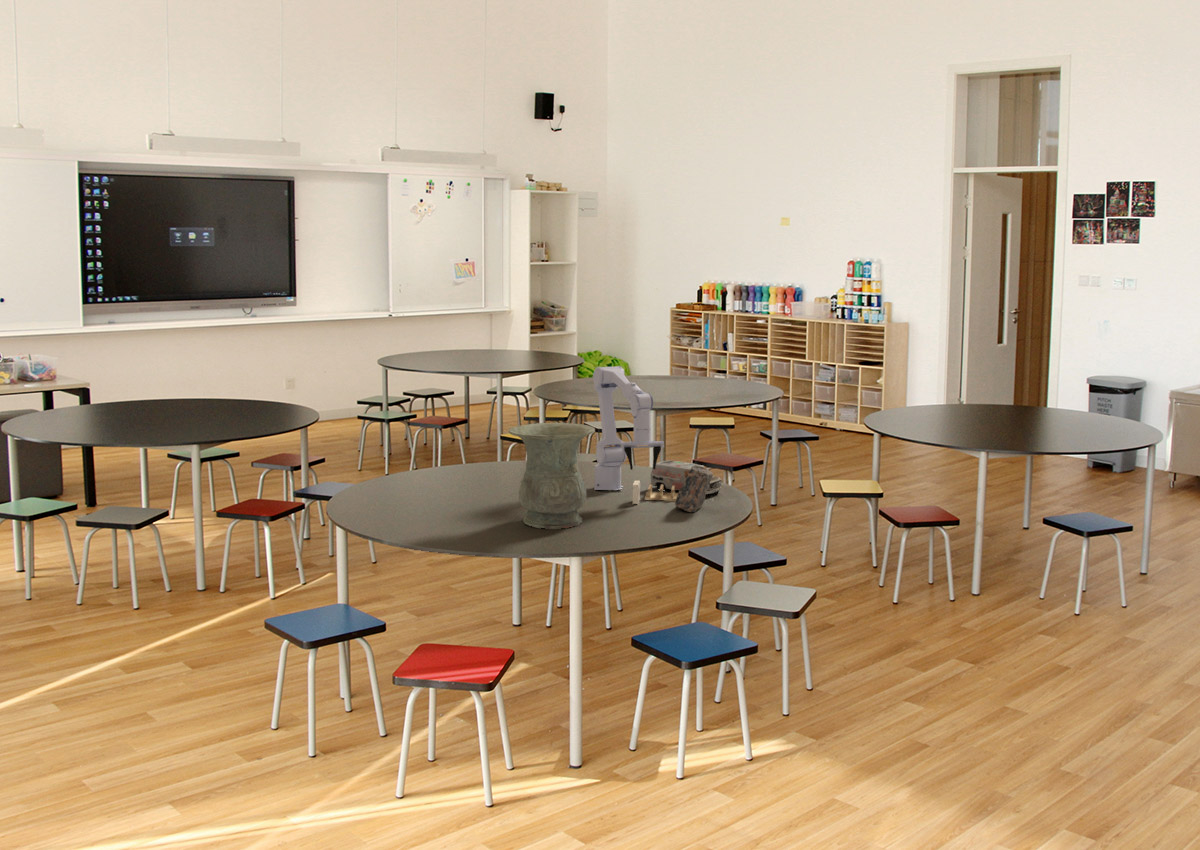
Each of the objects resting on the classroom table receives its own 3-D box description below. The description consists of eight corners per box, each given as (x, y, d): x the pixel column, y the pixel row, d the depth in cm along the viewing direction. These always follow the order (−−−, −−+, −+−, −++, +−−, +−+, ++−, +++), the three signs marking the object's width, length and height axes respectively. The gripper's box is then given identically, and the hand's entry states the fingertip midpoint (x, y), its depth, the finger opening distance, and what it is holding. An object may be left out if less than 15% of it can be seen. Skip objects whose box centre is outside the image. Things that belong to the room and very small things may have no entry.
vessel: (548, 508, 373) (548, 419, 368) (611, 520, 356) (611, 427, 352) (491, 523, 352) (490, 429, 348) (554, 537, 336) (554, 438, 331)
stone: (679, 515, 365) (680, 469, 362) (666, 505, 377) (666, 462, 375) (717, 512, 368) (718, 467, 366) (702, 503, 381) (703, 460, 378)
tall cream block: (632, 505, 379) (632, 484, 377) (634, 500, 385) (634, 480, 384) (638, 505, 378) (638, 484, 377) (639, 500, 385) (640, 480, 384)
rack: (644, 500, 385) (644, 489, 384) (646, 494, 394) (646, 483, 393) (676, 501, 384) (676, 490, 383) (678, 495, 392) (678, 484, 392)
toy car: (706, 499, 388) (707, 471, 386) (648, 489, 403) (648, 462, 401) (723, 494, 396) (723, 466, 394) (665, 485, 411) (666, 458, 410)
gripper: (620, 430, 375) (621, 471, 376) (664, 429, 375) (664, 470, 376) (620, 428, 382) (621, 468, 383) (663, 427, 382) (663, 467, 383)
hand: (642, 469), depth 380 cm, fingers open, 7 cm apart
